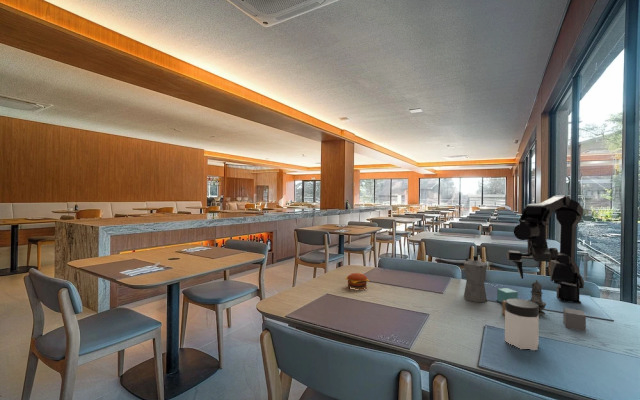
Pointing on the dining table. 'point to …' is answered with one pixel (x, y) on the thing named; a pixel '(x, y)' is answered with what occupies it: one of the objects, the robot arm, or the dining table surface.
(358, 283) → the hamburger
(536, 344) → the jar
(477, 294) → the coffeepot
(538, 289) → the salt shaker
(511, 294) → the teal block
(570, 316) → the grey cube
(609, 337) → the dining table surface
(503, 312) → the walnut block
